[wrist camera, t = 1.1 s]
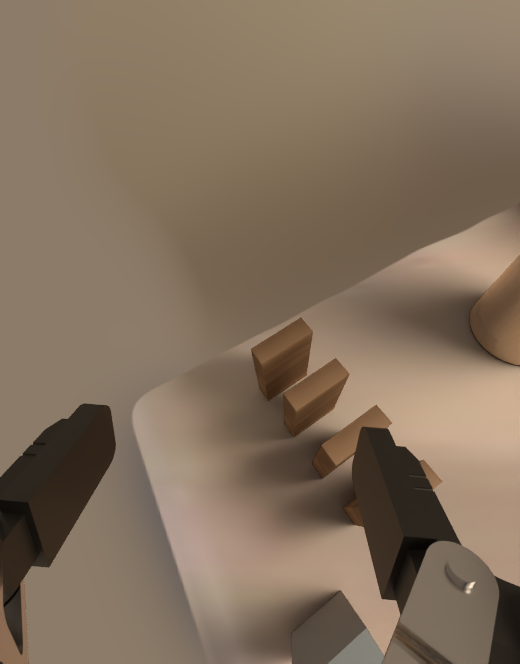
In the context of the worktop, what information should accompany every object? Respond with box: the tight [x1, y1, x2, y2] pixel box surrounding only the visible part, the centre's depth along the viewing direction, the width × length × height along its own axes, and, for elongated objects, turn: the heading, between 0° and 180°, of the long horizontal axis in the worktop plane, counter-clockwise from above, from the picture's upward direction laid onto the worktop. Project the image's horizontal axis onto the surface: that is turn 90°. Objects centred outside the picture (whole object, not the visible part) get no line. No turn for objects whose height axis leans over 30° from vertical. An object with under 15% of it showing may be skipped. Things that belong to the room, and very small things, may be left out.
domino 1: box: [251, 318, 313, 401], centre depth 32 cm, size 2×5×10 cm, turn 124°
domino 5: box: [343, 460, 442, 527], centre depth 26 cm, size 2×5×10 cm, turn 124°
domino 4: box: [291, 591, 384, 664], centre depth 22 cm, size 2×5×10 cm, turn 124°
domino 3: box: [312, 405, 392, 479], centre depth 28 cm, size 2×5×10 cm, turn 123°
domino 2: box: [284, 358, 349, 437], centre depth 30 cm, size 2×5×10 cm, turn 124°
